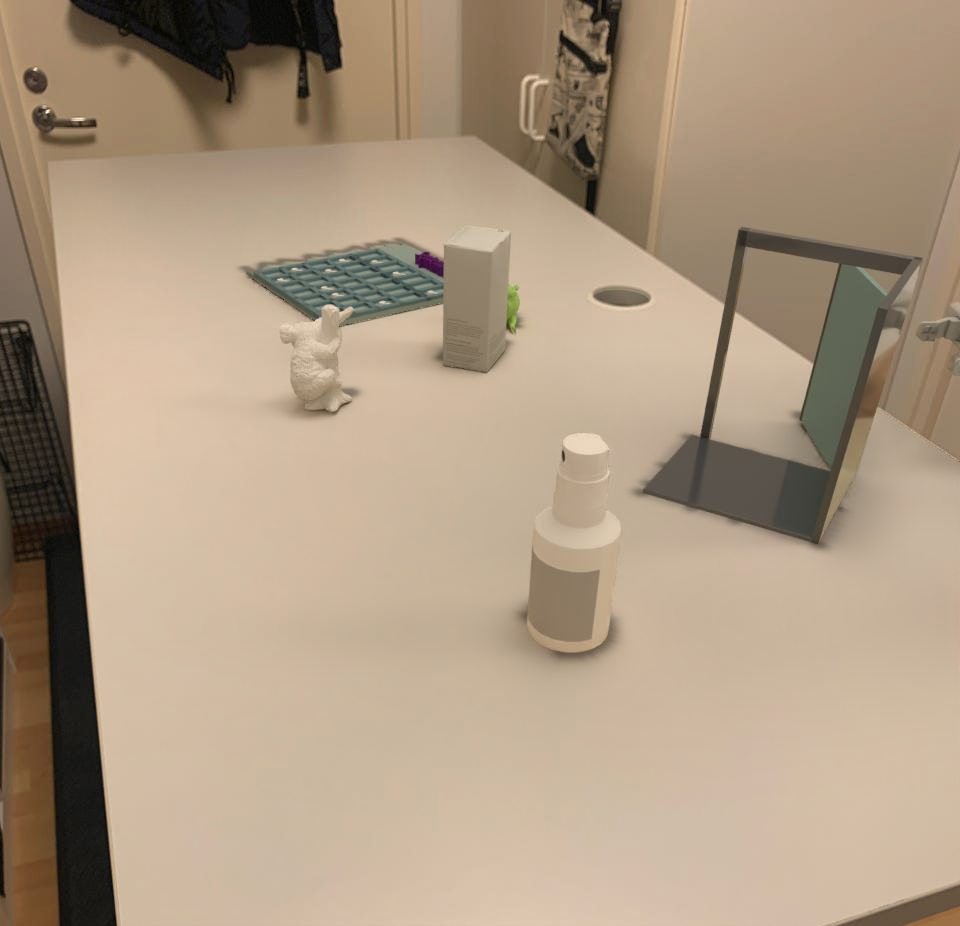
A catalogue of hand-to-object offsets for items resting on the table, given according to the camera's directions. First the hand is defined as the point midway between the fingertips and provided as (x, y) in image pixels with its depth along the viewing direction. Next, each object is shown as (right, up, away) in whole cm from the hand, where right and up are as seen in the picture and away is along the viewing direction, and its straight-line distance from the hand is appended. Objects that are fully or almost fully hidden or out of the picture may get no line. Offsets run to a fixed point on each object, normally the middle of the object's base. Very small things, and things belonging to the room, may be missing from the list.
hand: (934, 347), depth 103 cm
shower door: (-9, -10, +3) cm, 14 cm away
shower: (-22, -17, -5) cm, 28 cm away
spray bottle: (-43, -32, -24) cm, 59 cm away
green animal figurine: (-48, +12, +30) cm, 58 cm away
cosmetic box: (-51, +5, +21) cm, 55 cm away
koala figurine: (-69, -4, +9) cm, 69 cm away
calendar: (-68, +23, +42) cm, 83 cm away
